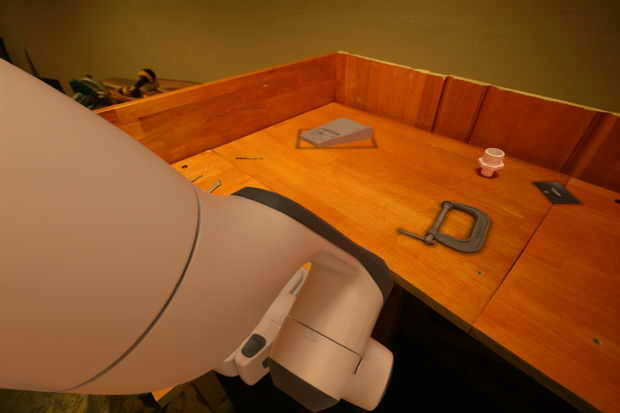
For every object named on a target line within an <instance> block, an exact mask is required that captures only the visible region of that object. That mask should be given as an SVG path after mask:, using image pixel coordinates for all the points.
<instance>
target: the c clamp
mask: <svg viewBox="0 0 620 413" xmlns="http://www.w3.org/2000/svg"><path fill="white" fill-rule="evenodd" d="M441 206H442V208H441V211H440V212H439V215H438V217H437V218H436V219H435V222H434V223H433V225H432V227H430V228H428V230H427V232H426V234H425V237H423V236H420V235H416V234H414V233H411V232H407V231H405V230H403V229H399V230H398V233H400V234H403V235H406V236H409V237H411V238H415V239H417V240H421V241H423V242H424V244H426V245H434V244H436V241H437V242H439V243H440V244H442V245H444V246H446V247H448V248H450V249H453V250H455V251H457V252H460V253H465V254H472V253H476V252H478V251H479V250H481V248H482V247H483V244H484V241H485V238H486V236H487V233H488V230H489V227H490V225H491V221H490V218H489V216H488V215H487V214H486V213H485V212H484V211H483V210H481V209H480V208H477V207H474V206H473V205H472V206H471V205H468V204H464V203H460V202H452V201H451V200H448V199H447V200H443V201H442V203H441ZM453 209H454V210H458V211H460V212H464V213H467V214H469V215H471V216H472V217H473V218H474V219H475V221H474V224H473V226H472V229H471V231H470V234H469V236H468V238H466V239H460V238H457V237H455V236H452V235H450V234H447V233H445V232H440V231H438V230H439V228H440V226H441V224H443V223H442V222H443V221H444V220H445V217H446V215H447V213H448V211H452V210H453Z"/></svg>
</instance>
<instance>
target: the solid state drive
mask: <svg viewBox="0 0 620 413" xmlns="http://www.w3.org/2000/svg"><path fill="white" fill-rule="evenodd" d="M533 184H534V185H535V186H536V187H537V189H539V190H540V192H541V193H542V194H543V195H544V196H545V197H546V198H547V199H548V200H549V201H550V202H551V203H552V204H556V205H557V204H560V205H561V204H563V205H566V204H567V205H569V204H571V205H574V204H575V205H577V204H578V205H579V204H580V203H581V202H580V201H579V200H578V199H577V198H576V197H575V196H574V195H573V194H572V193H571V192H569V191H568V190H567V189H566V188H565V187H564V186H563V184H561V183H560V182H558V181H534V182H533Z"/></svg>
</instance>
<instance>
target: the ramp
mask: <svg viewBox="0 0 620 413" xmlns="http://www.w3.org/2000/svg"><path fill="white" fill-rule="evenodd" d="M373 135H374V126H371V125H364V124H362V123H360V122H358V121H356V120H353V119H350V118H347V117H341V118H337V119H335V120H332V121H330V122H327V123H325V124H322V125H320V126H317V127H315V128H311V129H310V130H307V131H305V132H303V133H301V134H299V136H298V137H299V139H300V140H302V141H304V142H306V143H308V144H309V145H311V146H313V147H315V148H317V149H320V148H327V147H333V146H338V145H344V144H350V143H355V142H356V143H357V142H361V141H368V140H372V139H373V137H374V136H373Z"/></svg>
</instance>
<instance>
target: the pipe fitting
mask: <svg viewBox="0 0 620 413" xmlns="http://www.w3.org/2000/svg"><path fill="white" fill-rule="evenodd" d="M505 155H506V153H505V152H504V151H503V150H501V149H500V148H496V147H488V148H486V149H485V150H484V152H483V155H482V156H481V157H478V158H477V163H478V165H479V167H481V168H482V169H481V170H480V174H481V175H482V176H485V177H492V176H493V174H494V172H495V171H498V170H502V169H503V168H504V167H505V164H504V162H503V160H504V158H505Z"/></svg>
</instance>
